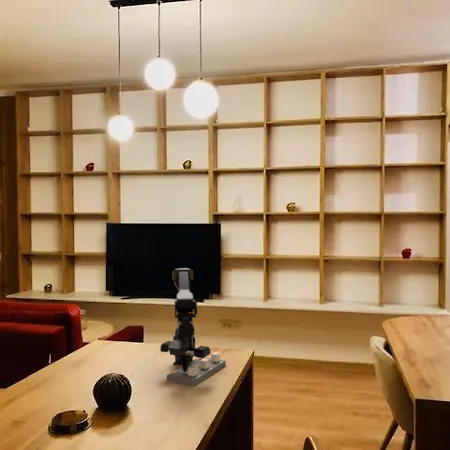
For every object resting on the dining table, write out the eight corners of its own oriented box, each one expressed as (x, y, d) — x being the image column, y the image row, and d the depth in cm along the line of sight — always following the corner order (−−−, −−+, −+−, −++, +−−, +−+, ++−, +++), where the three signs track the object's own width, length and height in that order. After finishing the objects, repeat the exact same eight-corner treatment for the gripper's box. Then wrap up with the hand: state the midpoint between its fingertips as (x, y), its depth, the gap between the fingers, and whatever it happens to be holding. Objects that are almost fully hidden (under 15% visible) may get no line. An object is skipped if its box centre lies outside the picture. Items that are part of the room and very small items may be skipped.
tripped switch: (188, 375, 181) (188, 367, 181) (192, 372, 184) (192, 365, 184) (193, 376, 180) (193, 368, 180) (198, 373, 183) (197, 365, 183)
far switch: (211, 361, 197) (211, 354, 197) (214, 359, 200) (214, 352, 200) (216, 362, 196) (216, 354, 196) (220, 360, 199) (220, 352, 199)
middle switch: (200, 368, 189) (200, 360, 189) (204, 365, 192) (204, 358, 192) (205, 369, 188) (205, 361, 188) (209, 366, 191) (209, 359, 191)
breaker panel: (166, 380, 182) (166, 375, 182) (200, 361, 205) (199, 356, 205) (194, 385, 177) (194, 380, 177) (225, 365, 199) (225, 360, 199)
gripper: (151, 332, 180) (152, 374, 180) (196, 339, 171) (196, 383, 172) (168, 325, 190) (168, 365, 190) (211, 331, 181) (211, 373, 182)
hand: (185, 371), depth 184 cm, fingers closed
